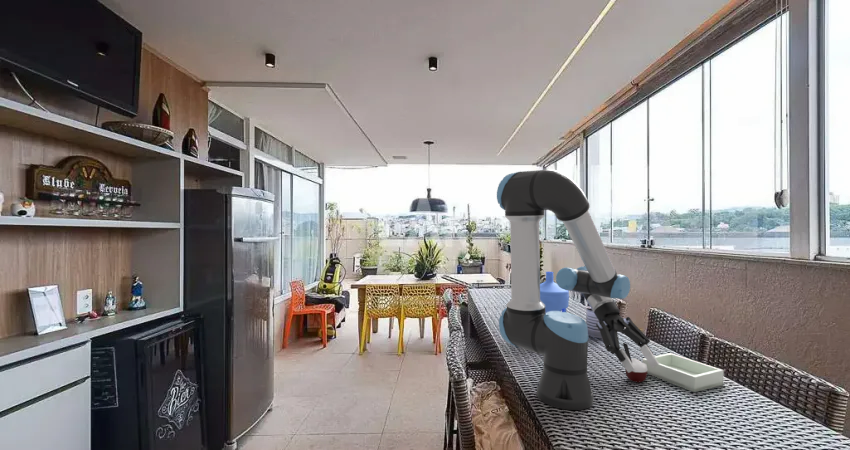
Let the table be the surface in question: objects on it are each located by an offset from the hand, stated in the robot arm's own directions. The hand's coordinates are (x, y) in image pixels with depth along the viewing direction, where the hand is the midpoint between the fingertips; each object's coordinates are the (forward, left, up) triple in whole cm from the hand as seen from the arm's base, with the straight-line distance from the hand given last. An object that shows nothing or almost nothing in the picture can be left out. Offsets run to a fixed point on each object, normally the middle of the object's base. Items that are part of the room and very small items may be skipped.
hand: (643, 368), depth 126 cm
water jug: (+5, +48, -5) cm, 49 cm away
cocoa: (0, +3, -5) cm, 6 cm away
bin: (+15, -2, -5) cm, 16 cm away
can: (+30, +44, -5) cm, 54 cm away
